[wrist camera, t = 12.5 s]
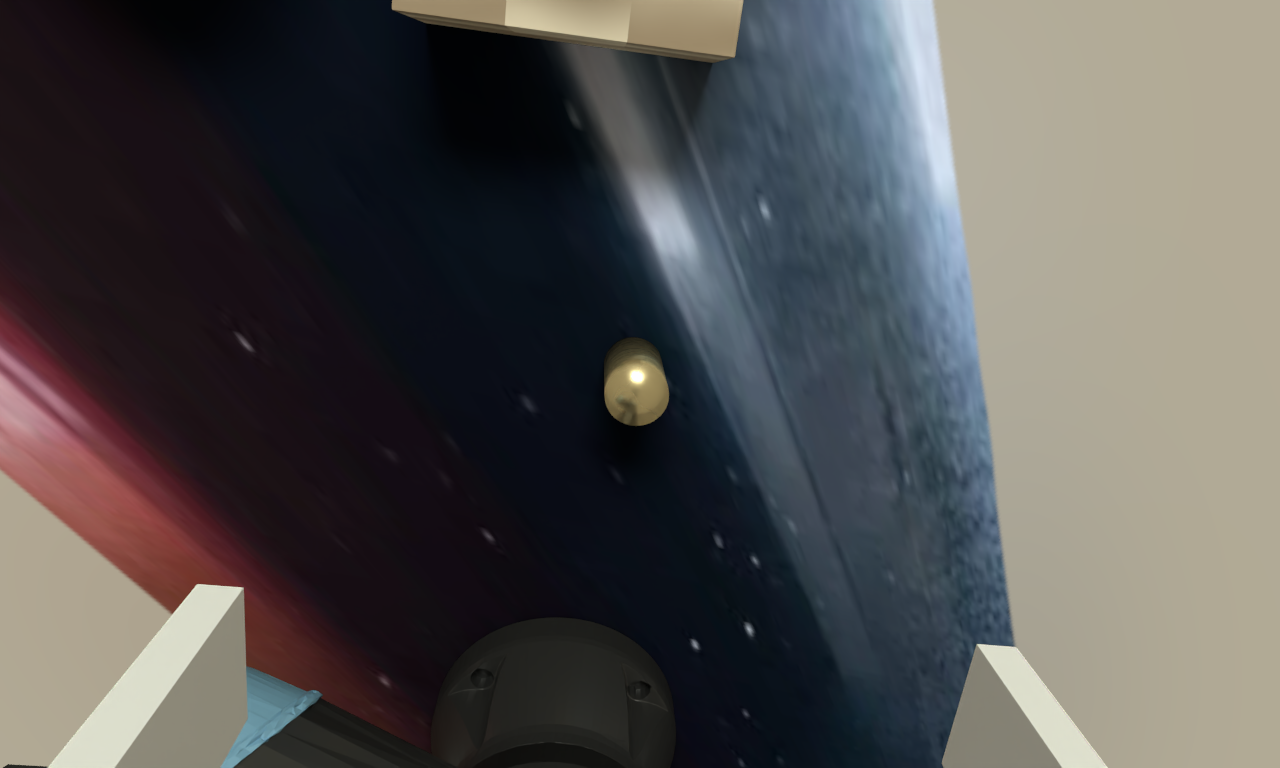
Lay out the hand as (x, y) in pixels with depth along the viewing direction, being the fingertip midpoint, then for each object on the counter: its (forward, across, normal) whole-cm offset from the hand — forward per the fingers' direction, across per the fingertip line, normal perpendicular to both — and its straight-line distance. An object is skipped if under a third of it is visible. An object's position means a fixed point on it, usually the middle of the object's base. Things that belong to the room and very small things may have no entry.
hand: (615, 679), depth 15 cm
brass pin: (+32, -2, +4) cm, 32 cm away
